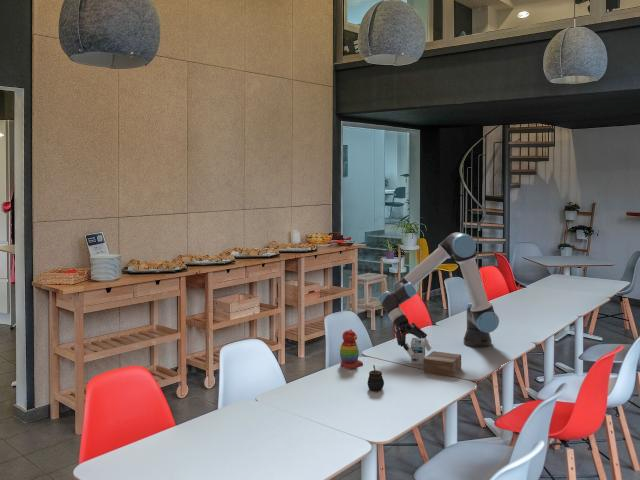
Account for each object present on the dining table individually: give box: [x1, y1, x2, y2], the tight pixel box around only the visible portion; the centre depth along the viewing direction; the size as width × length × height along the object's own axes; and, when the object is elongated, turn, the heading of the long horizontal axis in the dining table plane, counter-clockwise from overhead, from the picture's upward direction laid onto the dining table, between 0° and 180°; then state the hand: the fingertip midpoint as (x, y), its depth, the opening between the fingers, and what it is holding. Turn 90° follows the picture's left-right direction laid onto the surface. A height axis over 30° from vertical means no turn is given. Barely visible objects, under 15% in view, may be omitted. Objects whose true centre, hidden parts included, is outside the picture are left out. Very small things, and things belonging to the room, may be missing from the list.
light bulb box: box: [410, 337, 426, 365], centre depth 307 cm, size 11×7×11 cm, turn 167°
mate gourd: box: [366, 364, 385, 392], centre depth 267 cm, size 7×8×10 cm
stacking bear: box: [339, 328, 364, 370], centre depth 302 cm, size 11×10×18 cm
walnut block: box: [423, 350, 462, 378], centre depth 291 cm, size 14×14×7 cm
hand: (421, 352), depth 306 cm, fingers open, 13 cm apart
